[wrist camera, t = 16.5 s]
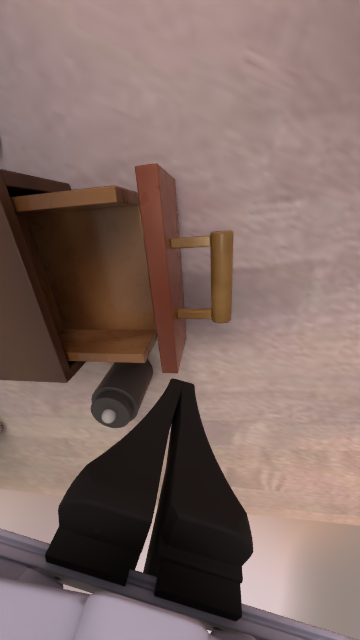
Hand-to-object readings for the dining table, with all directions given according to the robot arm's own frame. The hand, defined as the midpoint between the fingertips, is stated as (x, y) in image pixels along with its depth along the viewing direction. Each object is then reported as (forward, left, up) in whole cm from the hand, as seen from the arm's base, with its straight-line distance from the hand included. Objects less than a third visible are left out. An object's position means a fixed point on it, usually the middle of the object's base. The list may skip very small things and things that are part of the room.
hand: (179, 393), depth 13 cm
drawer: (-5, -5, -9) cm, 11 cm away
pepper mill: (+6, -7, -9) cm, 13 cm away
